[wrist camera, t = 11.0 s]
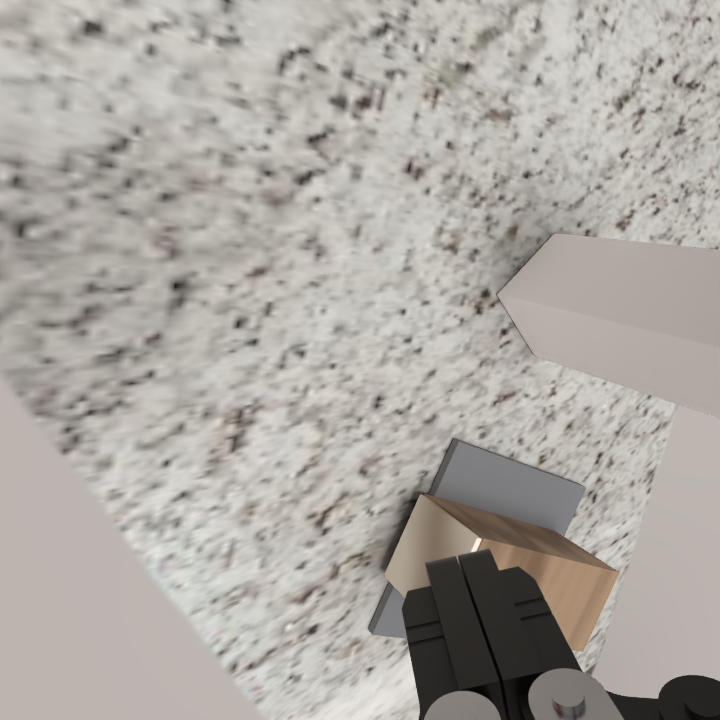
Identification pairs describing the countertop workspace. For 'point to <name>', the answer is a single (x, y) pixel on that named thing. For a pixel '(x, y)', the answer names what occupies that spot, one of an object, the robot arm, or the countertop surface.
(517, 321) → the milk
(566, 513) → the mat
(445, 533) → the light wood block
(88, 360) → the countertop surface
